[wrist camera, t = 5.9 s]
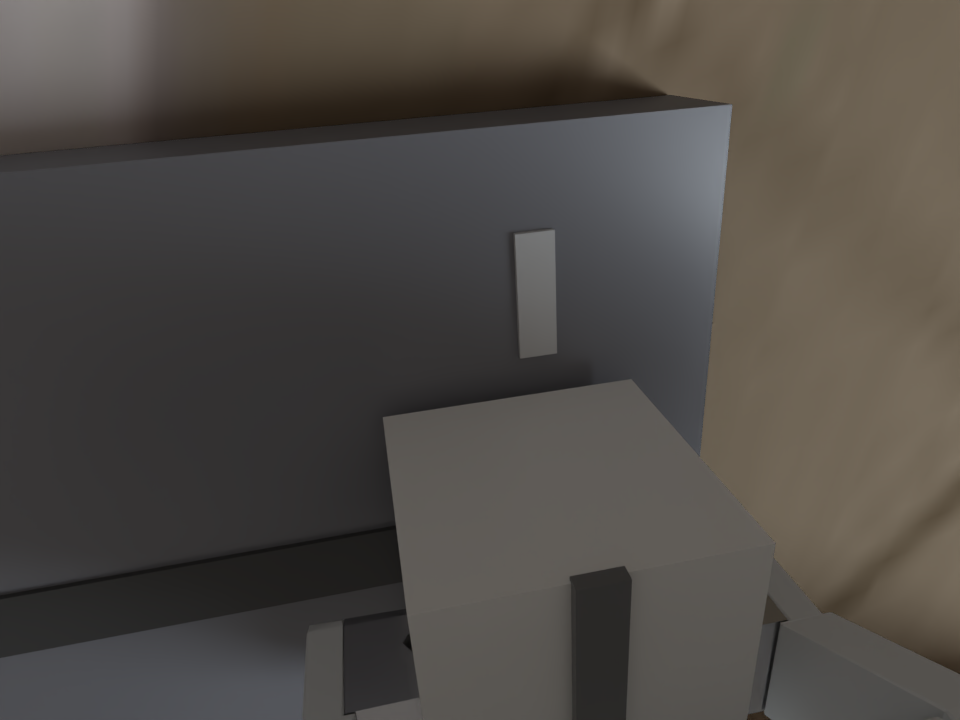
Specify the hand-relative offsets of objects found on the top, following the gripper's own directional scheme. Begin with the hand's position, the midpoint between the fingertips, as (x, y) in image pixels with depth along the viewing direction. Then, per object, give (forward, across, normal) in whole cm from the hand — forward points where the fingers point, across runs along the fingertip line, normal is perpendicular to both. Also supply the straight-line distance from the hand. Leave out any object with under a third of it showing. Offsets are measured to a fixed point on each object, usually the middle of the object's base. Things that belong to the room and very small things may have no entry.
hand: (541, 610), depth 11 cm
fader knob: (+2, 0, 0) cm, 2 cm away
